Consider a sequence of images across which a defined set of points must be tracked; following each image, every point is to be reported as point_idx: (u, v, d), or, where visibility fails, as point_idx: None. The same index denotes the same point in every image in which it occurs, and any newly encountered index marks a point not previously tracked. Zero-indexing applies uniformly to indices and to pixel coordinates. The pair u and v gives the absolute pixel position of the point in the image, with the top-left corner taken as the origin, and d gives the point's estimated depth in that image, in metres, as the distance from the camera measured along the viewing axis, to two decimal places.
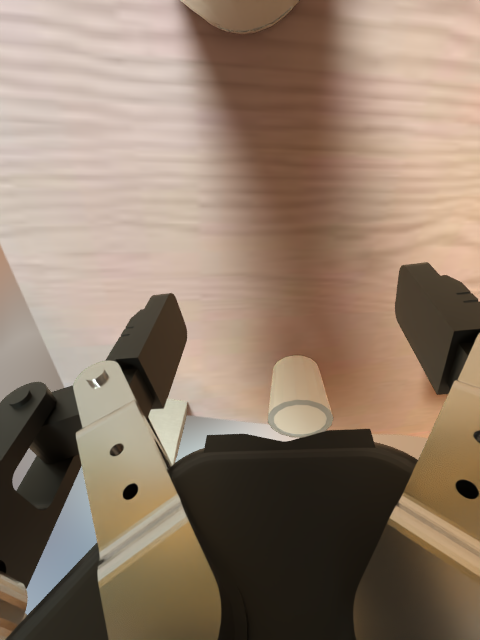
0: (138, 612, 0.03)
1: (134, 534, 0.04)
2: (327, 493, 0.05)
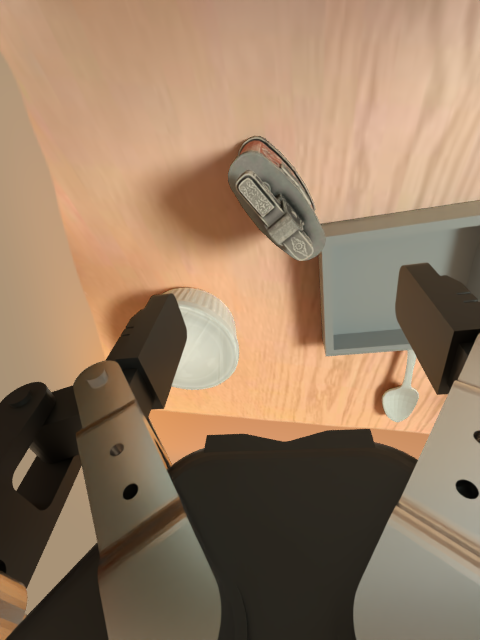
0: (138, 612, 0.03)
1: (134, 534, 0.04)
2: (327, 493, 0.05)
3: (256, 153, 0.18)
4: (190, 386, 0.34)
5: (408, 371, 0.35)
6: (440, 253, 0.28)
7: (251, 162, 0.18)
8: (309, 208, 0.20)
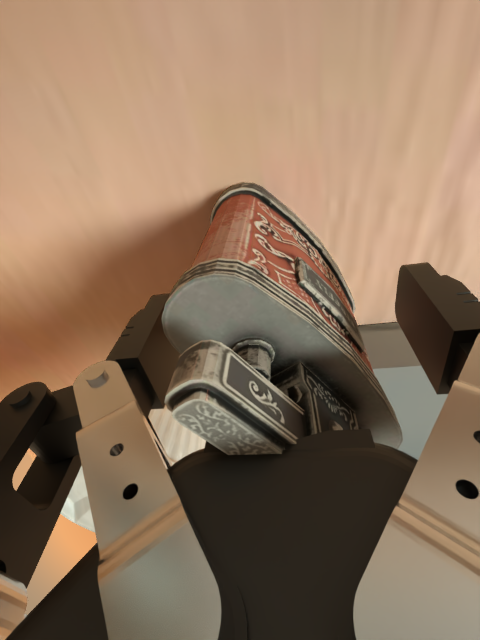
0: (138, 612, 0.03)
1: (134, 534, 0.04)
2: (327, 493, 0.05)
3: (235, 277, 0.06)
4: None
5: None
6: None
7: (221, 297, 0.07)
8: (372, 390, 0.08)
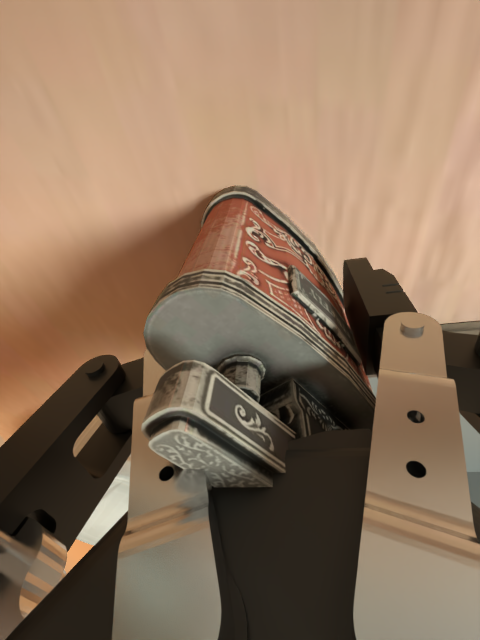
0: (138, 612, 0.03)
1: (159, 518, 0.04)
2: (327, 493, 0.05)
3: (221, 290, 0.06)
4: None
5: None
6: None
7: (207, 311, 0.06)
8: (369, 408, 0.07)
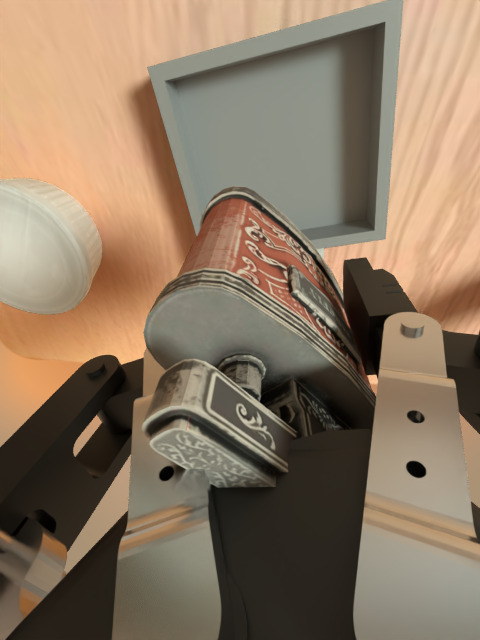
0: (138, 612, 0.03)
1: (159, 518, 0.04)
2: (327, 493, 0.05)
3: (221, 289, 0.06)
4: (43, 309, 0.27)
5: None
6: (325, 105, 0.21)
7: (207, 310, 0.06)
8: (369, 407, 0.07)
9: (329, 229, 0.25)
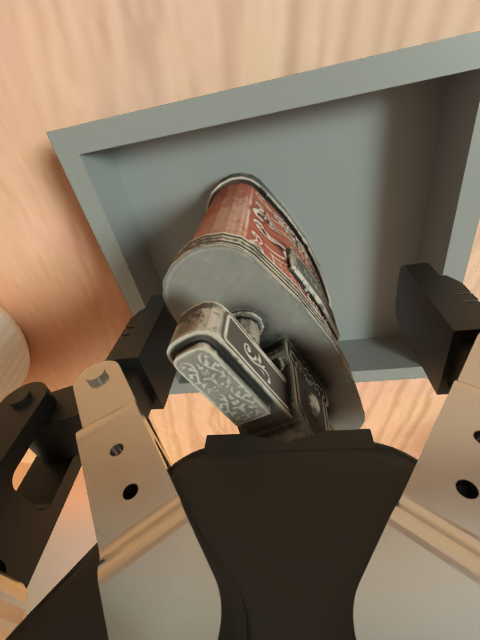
0: (138, 612, 0.03)
1: (134, 534, 0.04)
2: (327, 493, 0.05)
3: (239, 249, 0.07)
4: None
5: None
6: (355, 187, 0.13)
7: (223, 267, 0.07)
8: (344, 371, 0.09)
9: (351, 351, 0.17)
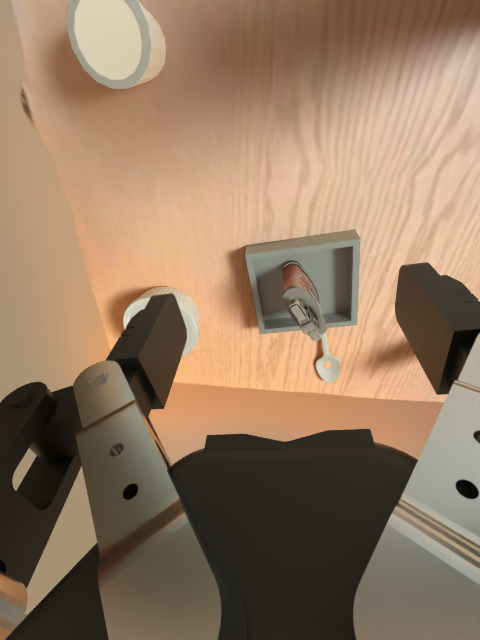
0: (138, 612, 0.03)
1: (134, 534, 0.04)
2: (327, 493, 0.05)
3: (299, 289, 0.36)
4: None
5: (324, 344, 0.50)
6: (326, 264, 0.42)
7: (296, 292, 0.37)
8: (320, 314, 0.38)
9: (328, 317, 0.46)
